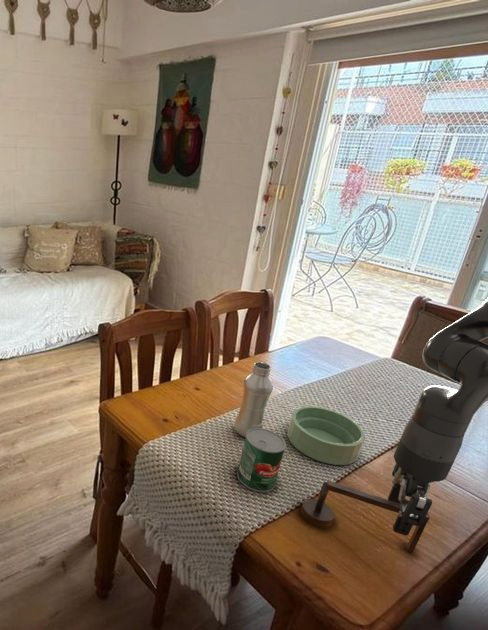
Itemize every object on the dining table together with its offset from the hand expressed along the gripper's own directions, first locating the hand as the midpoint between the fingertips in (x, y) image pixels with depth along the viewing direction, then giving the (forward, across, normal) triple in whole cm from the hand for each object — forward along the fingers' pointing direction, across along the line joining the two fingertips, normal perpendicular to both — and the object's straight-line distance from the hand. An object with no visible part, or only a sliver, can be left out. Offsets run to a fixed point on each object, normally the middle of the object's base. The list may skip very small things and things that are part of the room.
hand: (396, 517), depth 81 cm
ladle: (+6, 0, +5) cm, 8 cm away
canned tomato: (+7, +5, +24) cm, 25 cm away
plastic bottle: (+7, +21, +28) cm, 36 cm away
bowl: (+6, +26, +11) cm, 29 cm away
